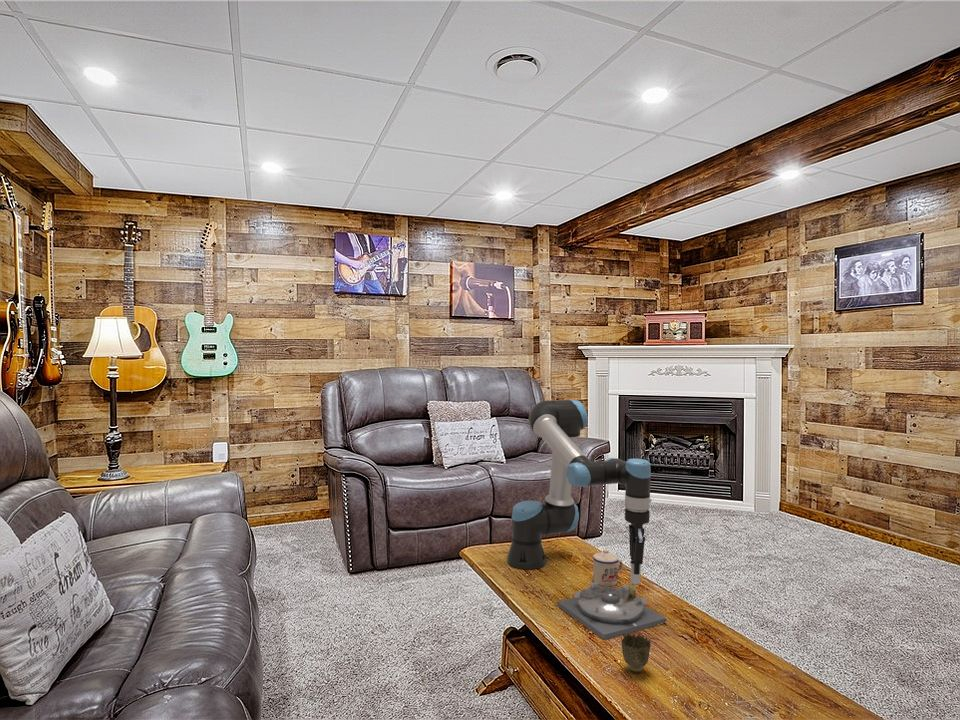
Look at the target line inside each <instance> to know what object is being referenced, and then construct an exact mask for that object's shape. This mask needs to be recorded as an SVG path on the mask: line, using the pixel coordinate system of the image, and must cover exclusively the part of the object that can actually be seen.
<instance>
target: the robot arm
mask: <svg viewBox="0 0 960 720" xmlns="http://www.w3.org/2000/svg"><path fill="white" fill-rule="evenodd" d="M588 419H589V418H588V413H587V410H586V408H585V406H584V404H583V403H582V402H581V401H579V400H577V399H557V400H556V399H555V400H553V399H552V400H548V399H547V400H542V401H539V402H538V403H536V404H535V405H533V406H532V408H531V410H530V412H529V415H528V424H529V426H530V429H531V431H532V432H533V434H535V436H536V437H539V438H541V439H542V440H543V441H544V442H545V443H546V445H547V446H548V447H549V448H550V450H551V451H552V453H551V466H550V478H549V491H548V494H547V495H546V496H545V497H544V504H543V503H542V502H541V501H540V500H539V501H538V500H534V499H533V500H523V501H519V502H517V503H516V504H515V505H514V506H513V507H512V512H511V513H512V514H511V543H510V547H509V550H508V552H507V557H506V558H507V561H506V562H508V563H507V564H508V565H509V566H510V565H511V566H510V567H512V566H513V568H515V569H519V570H537V569H540V568H541V569H542V568H543V567H545V566H546V565H547V563H546V562H547V559H546V554H545V551H544V548H543V544H542V541H543V539H542V537H543V536H544V535H552V534H553V535H554V534H564V533H569V532H572V531H573V530H575V529H576V528H577V526H578V523H579V519H580V513H579V508H578V505H577V504H576V503H575V500H574V498H572V496H571V495H572V487H581V488H582V487H591V486H592V487H593V486H600V485H601V486H604V485H615V484H619V485H621V486H624V487H625V492H624V493H625V495H624V507H625V509H624V520H625V521H626V522H627V523H630V524H629V525H628V531H629V532H628V533H629V538H628V539H629V556H630V561H629V562H630V579H631V583H632V584H636V585H639V584H641V575H642V574H641V571H642V566H641V565H643V563H644V551H645V542H646V537H645V536H644V535H645V528H644V527H643V526H644V525H647V524H649V522H650V514H651V513H650V507H651V506H650V503H651V502H652V498H651V483H652V481H651V477H652V473H651V472H652V471H651V463H650V461H649V460H646V459H644V458H643V459H642V458H628V459H627V460H626V461H625V460H622V459H620V458H617V457H616V458H615V457H609V458H607V459H606V460H603V461H602V460H601V461H600V460H599V461H598V460H597V461H591V460H590V459H589V458H588V457H587V456H586V454H585V453H583V451H582V450H581V449H580V448H579V447H578V445H577V444H576V440H577V439H578V438H580V437H581V436H580V435H581V431H582V430H584V429H586V427H587V426H588Z"/></svg>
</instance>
